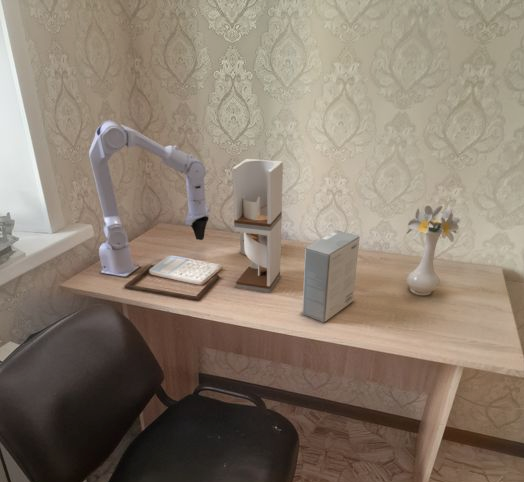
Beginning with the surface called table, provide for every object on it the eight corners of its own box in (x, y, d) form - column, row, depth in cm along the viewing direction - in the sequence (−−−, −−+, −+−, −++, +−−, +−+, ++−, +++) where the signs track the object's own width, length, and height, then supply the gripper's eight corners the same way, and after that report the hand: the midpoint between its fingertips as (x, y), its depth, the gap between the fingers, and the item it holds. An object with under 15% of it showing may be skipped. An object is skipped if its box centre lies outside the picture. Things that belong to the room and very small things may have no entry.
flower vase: (447, 282, 144) (467, 202, 130) (435, 308, 131) (456, 222, 117) (405, 273, 149) (421, 195, 135) (390, 297, 136) (405, 214, 122)
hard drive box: (331, 294, 138) (337, 229, 127) (353, 301, 134) (361, 236, 123) (300, 314, 128) (304, 246, 117) (324, 323, 124) (330, 254, 113)
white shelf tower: (248, 272, 150) (246, 158, 130) (280, 276, 148) (282, 161, 128) (236, 287, 142) (232, 168, 122) (269, 292, 139) (270, 171, 119)
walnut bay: (124, 288, 141) (124, 285, 141) (151, 267, 154) (151, 264, 153) (197, 301, 135) (197, 298, 134) (219, 278, 147) (219, 275, 146)
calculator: (202, 286, 142) (201, 280, 141) (148, 274, 149) (147, 269, 148) (222, 269, 152) (222, 263, 151) (170, 259, 159) (170, 253, 158)
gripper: (198, 206, 142) (201, 248, 149) (217, 193, 153) (219, 232, 161) (177, 204, 143) (181, 245, 151) (197, 191, 155) (201, 230, 162)
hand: (200, 239), depth 156 cm, fingers closed
